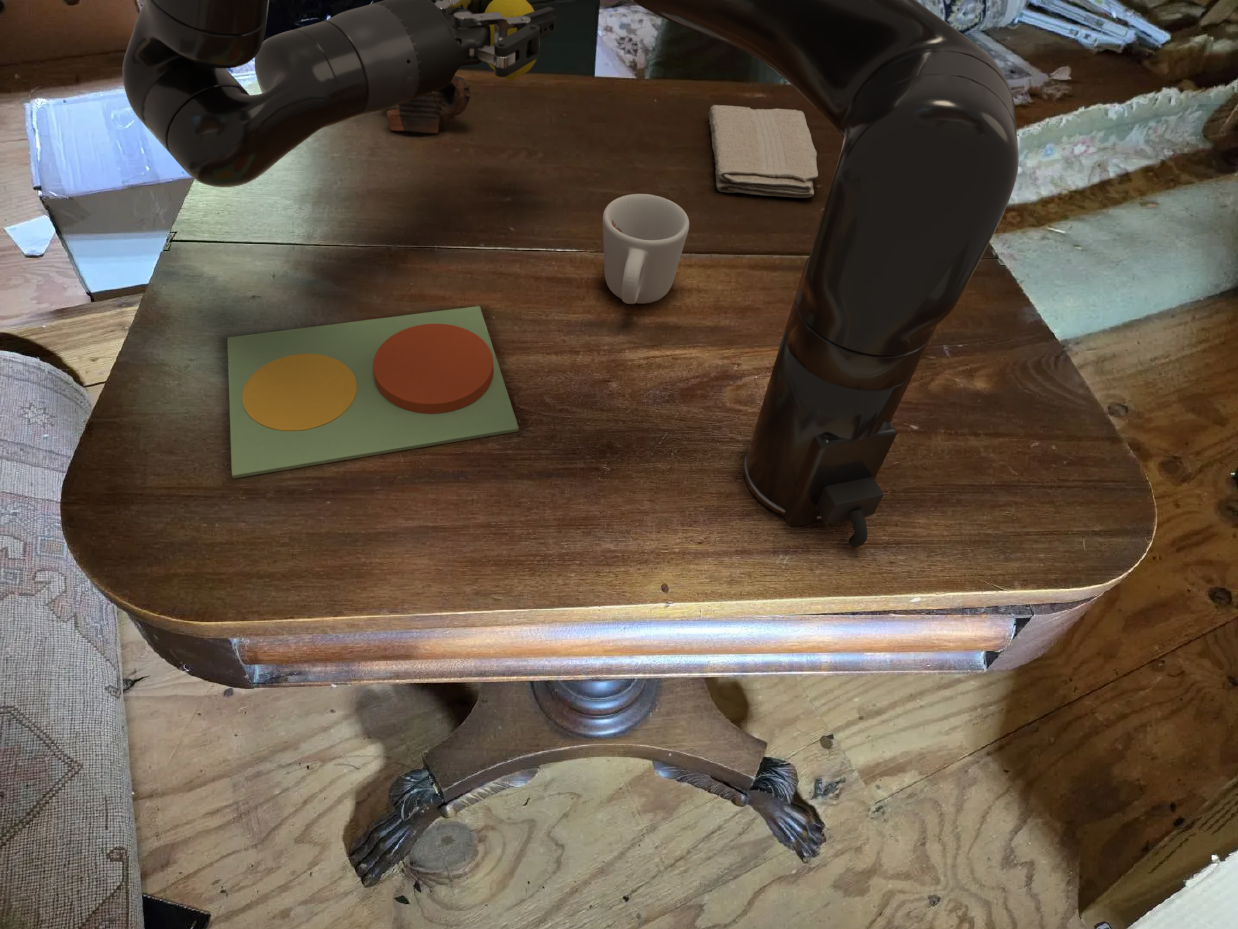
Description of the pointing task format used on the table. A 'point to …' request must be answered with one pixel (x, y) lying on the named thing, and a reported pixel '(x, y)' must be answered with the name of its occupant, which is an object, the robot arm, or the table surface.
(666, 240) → the cup
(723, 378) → the table surface
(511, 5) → the lemon
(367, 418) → the placemat
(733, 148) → the washcloth
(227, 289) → the table surface
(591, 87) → the table surface
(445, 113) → the pottery mug
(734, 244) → the table surface
